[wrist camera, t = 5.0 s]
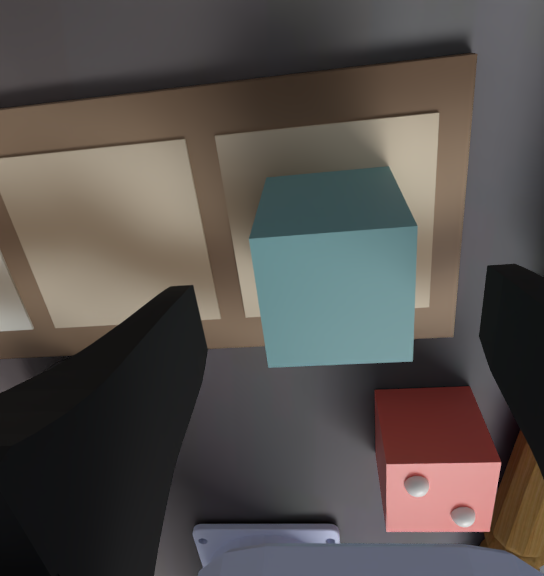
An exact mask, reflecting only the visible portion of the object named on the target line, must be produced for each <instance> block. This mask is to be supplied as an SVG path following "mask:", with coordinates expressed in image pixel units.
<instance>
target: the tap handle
mask: <svg viewBox="0 0 544 576" xmlns="http://www.w3.org/2000/svg"><path fill="white" fill-rule="evenodd" d="M484 536H485V539H484V540H483V541H482V542H481V544H480V547H486V548H492V549H498V550H504V551H507V552H509V553H511V554H513V555H515V556H516V557H518V558H519V559H521V560H523V561H524V562H526V563H527V564H529V565H530V566H532V567H533V568H535V569H536V570H538V571H540V569H539V568H540V567H541V566H543V565H544V479H543V477H542V474H541V471H540V469H539V466H538V464H537V462H536V460H535V457H534V455H533V453H532V451H531V449H530V447H529V445H528V443H527V441H526V439H525V437H524V435H523V433H522V431H521V429H520V432H519V435H518V437H517V440H516V443H515V445H514V448H513V451H512V453H511V456H510V459H509V462H508V464H507V467H506V470H505V472H504V475H503V478H502V480H501V483H500V486H499V488H498V491H497V494H496V497H495V503H494V509H493V515H492V521H491V527H490V532H484Z"/></svg>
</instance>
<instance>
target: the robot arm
mask: <svg viewBox="0 0 544 576" xmlns="http://www.w3.org/2000/svg"><path fill="white" fill-rule="evenodd" d="M479 337H480V341H481V344H482V347H483V350H484V353H485V356H486V359H487V362H488V365H489V368H490V370H491V372H492V375H493V377H494V379H495V381H496V383H497V385H498V387H499V389H500V390H501V392H502V394H503V396H504V398H505V400H506V402H507V404H508V406H509V408H510V410H511V412H512V414H513V416H514V418H515V420H516V422H517V423H518V425H519V427H520V429H521V431H522V433H523V435H524V437H525V439H526V441H527V443H528V445H529V447H530V449H531V451H532V453H533V455H534V457H535V460H536V462H537V464H538V466H539V469H540V471H541V474H542V477H543V479H544V277H542V276H540V275H538V274H536V273H534V272H532V271H530V270H528V269H526V268H524V267H521V266H519V265H516V264H505V265H490V266H487V274H486V282H485V291H484V299H483V307H482V316H481V324H480V333H479ZM207 351H208V348H207V343H206V339H205V335H204V330H203V326H202V321H201V317H200V313H199V308H198V304H197V299H196V295H195V291H194V286H193V285H182V286H170V287H168V288H167V289H165V290H164V291H162V292H161V293H159V294H158V295H157V296H155V297H154V298H153V299H151V300H150V301H149V302H148V303H146V304H145V305H144V306H142V307H141V308H140V309H139V310H137V311H136V312H135V313H133V314H132V315H131V316H129V317H128V318H127V319H126V320H124V321H123V322H122V323H120V324H119V325H118V326H116V327H115V328H113V329H112V330H111V331H109V332H108V333H106V334H105V335H103V336H102V337H101V338H99V339H98V340H96V341H95V342H94V343H92V344H91V345H89V346H88V347H86V348H85V349H83V350H81V351H80V352H78V353H77V354H75V355H73V356H72V357H70V358H68V359H67V360H65V361H63V362H61V363H60V364H58V365H56V366H54V367H53V368H51V369H49V370H47V371H45V372H43V373H41V374H39V375H37V376H35V377H33V378H31V379H29V380H27V381H25V382H23V383H21V384H19V385H17V386H15V387H13V388H11V389H9V390H6V391H4V392H2V393H0V576H154V571H155V565H156V559H157V553H158V547H159V542H160V536H161V531H162V526H163V520H164V515H165V510H166V505H167V500H168V495H169V491H170V486H171V481H172V477H173V472H174V468H175V465H176V461H177V458H178V454H179V451H180V448H181V445H182V442H183V439H184V436H185V433H186V430H187V427H188V424H189V421H190V418H191V415H192V412H193V409H194V406H195V403H196V400H197V397H198V394H199V390H200V387H201V384H202V380H203V375H204V369H205V364H206V357H207ZM193 538H194V541H195V544H196V547H197V550H198V553H199V557H200V560H201V563H202V566H203V568H202V569H201V570H199V573H198V576H544V574H543V573H541V572H540V571H538V570H536V569H535V568H533V567H532V566H530V565H529V564H527V563H526V562H524V561H523V560H521V559H519V558H518V557H516V556H515V555H513V554H511V553H509V552H507V551H504V550H498V549H492V548H486V547H480V546H473V545H467V544H364V543H340V536H339V528H338V527H337V526H336V525H334V524H198V525H196V526H195V527H194V529H193Z"/></svg>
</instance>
